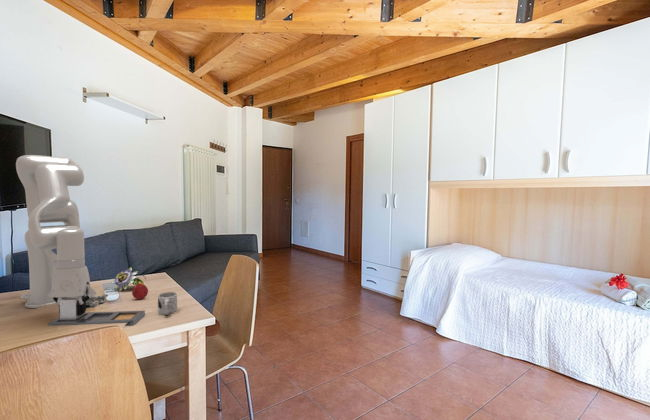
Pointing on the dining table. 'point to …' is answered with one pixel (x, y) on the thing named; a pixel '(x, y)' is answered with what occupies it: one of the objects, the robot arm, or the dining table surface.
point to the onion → (140, 291)
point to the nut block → (69, 309)
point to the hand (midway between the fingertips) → (72, 313)
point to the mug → (167, 303)
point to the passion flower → (126, 279)
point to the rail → (104, 318)
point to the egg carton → (101, 299)
